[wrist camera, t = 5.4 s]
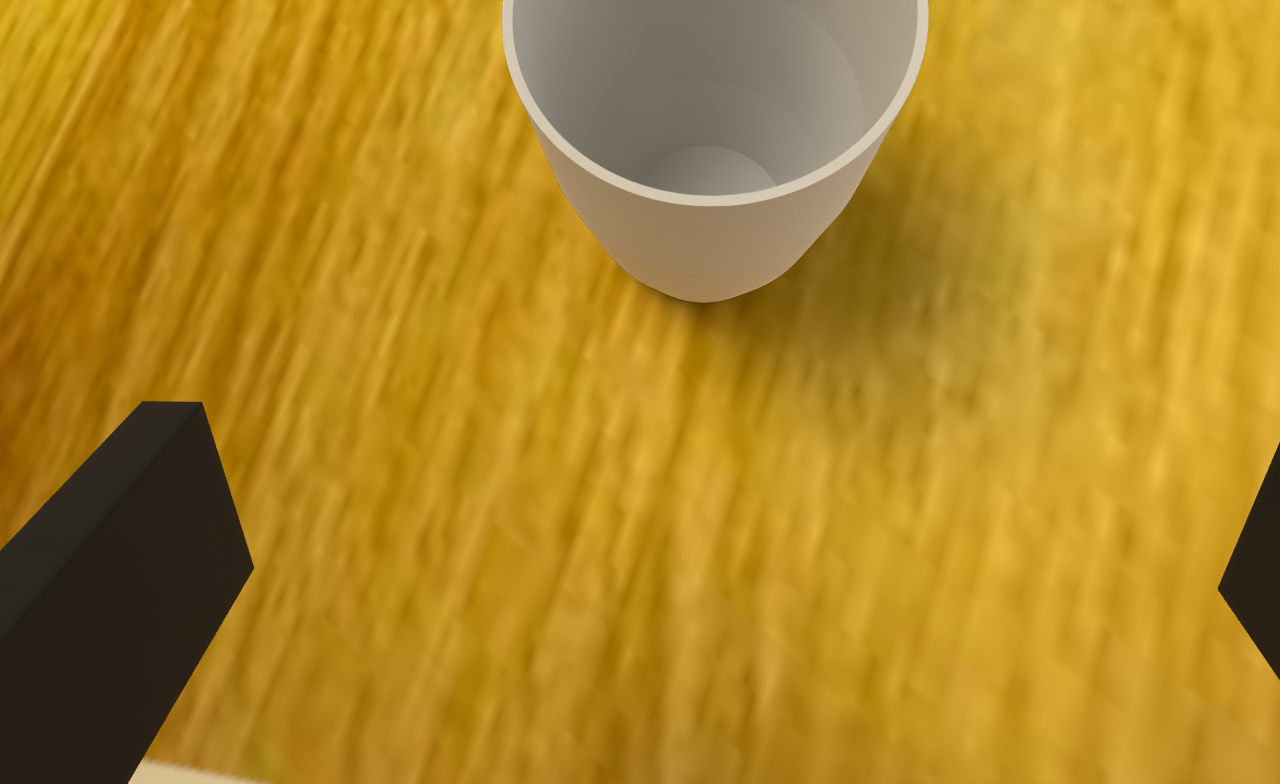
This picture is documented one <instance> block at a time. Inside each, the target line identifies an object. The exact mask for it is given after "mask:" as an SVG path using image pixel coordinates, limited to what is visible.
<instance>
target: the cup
mask: <svg viewBox="0 0 1280 784" xmlns="http://www.w3.org/2000/svg"><path fill="white" fill-rule="evenodd" d="M927 33H928V0H504V1H503V11H502V34H503V44H504V50H505V56H506V60H507V64H508V68H509V71H510V74H511V77H512V80H513V83H514V85H515V88H516V90H517V92H518V94H519V97H520V99H521V101H522V103H523V106H524V108H525V110H526V112H527V114H528V117H529V119H530V121H531V123H532V126H533V128H534V130H535V132H536V135H537V137H538V139H539V141H540V143H541V146H542V148H543V150H544V152H545V155H546V157H547V159H548V161H549V164H550V166H551V168H552V170H553V172H554V175H555V177H556V179H557V181H558V183H559V186H560V188H561V190H562V192H563V193H564V195H565V197H566V199H567V200H568V202H569V203H570V205H571V206H572V208H573V209H574V210H575V212H576V213H577V214H578V215H579V217H580V218H581V219H582V221H583V222H584V223H585V225H586V226H587V227H588V229H589V230H590V231H591V232H592V234H593V235H594V236H595V238H596V239H597V240H598V242H599V243H600V244H601V245H602V247H603V248H604V249H605V251H606V252H607V253H608V255H609V256H610V257H611V258H612V259H613V260H614V261H615V262H616V263H617V264H618V265H619V266H620V267H621V268H622V269H623V270H624V271H625V272H627V273H628V274H629V275H631V276H632V277H633V278H635V279H636V280H638V281H640V282H641V283H643V284H645V285H647V286H649V287H651V288H653V289H655V290H658V291H660V292H662V293H664V294H666V295H669V296H671V297H674V298H677V299H680V300H684V301H690V302H701V303H707V302H718V301H723V300H727V299H731V298H734V297H736V296H739V295H742V294H745V293H747V292H750V291H753V290H755V289H757V288H760V287H762V286H764V285H766V284H768V283H769V282H771V281H773V280H774V279H776V278H778V277H779V276H780V275H782V274H783V273H784V272H786V271H787V270H788V269H789V268H790V267H791V266H793V265H794V264H795V263H796V262H797V261H798V260H799V258H800V257H801V256H802V255H803V254H804V253H805V252H806V251H807V250H808V249H809V247H810V246H811V245H812V244H813V243H814V242H815V241H816V240H817V239H818V237H819V236H820V235H821V234H822V233H823V232H824V231H825V230H826V229H827V228H828V226H829V225H830V224H831V223H832V222H833V221H834V220H835V219H836V218H837V216H838V215H839V214H840V213H841V212H842V210H843V209H844V208H845V206H846V205H847V204H848V202H849V201H850V199H851V197H852V196H853V194H854V193H855V191H856V189H857V187H858V185H859V184H860V182H861V180H862V178H863V176H864V175H865V173H866V171H867V169H868V167H869V165H870V164H871V162H872V160H873V158H874V156H875V155H876V153H877V151H878V149H879V147H880V146H881V144H882V142H883V140H884V138H885V137H886V135H887V133H888V131H889V129H890V128H891V126H892V124H893V122H894V120H895V119H896V117H897V115H898V113H899V111H900V110H901V108H902V106H903V104H904V102H905V101H906V99H907V97H908V95H909V93H910V91H911V89H912V87H913V85H914V82H915V80H916V78H917V75H918V72H919V69H920V67H921V63H922V60H923V56H924V51H925V47H926V41H927Z"/></svg>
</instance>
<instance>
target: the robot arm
mask: <svg viewBox="0 0 1280 784" xmlns="http://www.w3.org/2000/svg"><path fill="white" fill-rule="evenodd" d="M253 569H254V565H253V562H252V559H251V556H250V553H249V550H248V546H247V543H246V540H245V537H244V534H243V531H242V527H241V524H240V521H239V518H238V515H237V511H236V508H235V505H234V502H233V499H232V496H231V492H230V489H229V486H228V483H227V480H226V477H225V473H224V470H223V467H222V464H221V461H220V457H219V454H218V451H217V448H216V445H215V442H214V438H213V435H212V432H211V429H210V426H209V423H208V419H207V416H206V413H205V410H204V407H203V404H202V402H159V401H142V402H141V403H140V404H139V405H138V406H137V407H136V408H135V410H134V411H133V412H132V413H131V414H130V415H129V416H128V417H127V418H126V419H125V420H124V421H123V422H122V423H121V424H120V425H119V426H118V427H117V428H116V430H115V431H114V432H113V433H112V434H111V435H110V436H109V437H108V438H107V439H106V440H105V441H104V442H103V443H102V444H101V445H100V446H99V447H98V449H97V450H96V451H95V452H94V453H93V454H92V455H91V456H90V457H89V458H88V459H87V460H86V461H85V462H84V463H83V464H82V465H81V466H80V467H79V469H78V470H77V471H76V472H75V473H74V474H73V475H72V476H71V477H70V478H69V479H68V480H67V481H66V482H65V483H64V484H63V485H62V486H61V488H60V489H59V490H58V491H57V492H56V493H55V494H54V495H53V496H52V497H51V498H50V499H49V500H48V501H47V502H46V503H45V504H44V505H43V506H42V508H41V509H40V510H39V511H38V512H37V513H36V514H35V515H34V516H33V517H32V518H31V519H30V520H29V521H28V522H27V523H26V524H25V525H24V526H23V528H22V529H21V530H20V531H19V532H18V533H17V534H16V535H15V536H14V537H13V538H12V539H11V540H10V541H9V542H8V543H7V544H6V545H5V547H4V548H3V549H2V550H1V551H0V784H128V782H129V781H130V779H131V777H132V775H133V774H134V772H135V770H136V768H137V766H138V765H139V764H140V762H141V760H142V758H143V757H144V755H145V753H146V752H147V750H148V748H149V746H150V745H151V743H152V741H153V740H154V738H155V736H156V735H157V733H158V731H159V729H160V728H161V726H162V724H163V723H164V721H165V719H166V718H167V716H168V714H169V712H170V711H171V709H172V707H173V706H174V704H175V702H176V700H177V699H178V697H179V695H180V694H181V692H182V690H183V689H184V687H185V685H186V683H187V682H188V680H189V678H190V677H191V675H192V673H193V672H194V670H195V668H196V666H197V665H198V663H199V661H200V660H201V658H202V656H203V655H204V653H205V651H206V649H207V648H208V646H209V644H210V643H211V641H212V639H213V637H214V636H215V634H216V632H217V631H218V629H219V627H220V626H221V624H222V622H223V620H224V619H225V617H226V615H227V614H228V612H229V610H230V609H231V607H232V605H233V603H234V602H235V600H236V598H237V597H238V595H239V593H240V592H241V590H242V588H243V586H244V585H245V583H246V581H247V580H248V578H249V576H250V574H251V573H252V571H253ZM1218 591H1219V592H1220V593H1221V595H1222V596H1223V598H1224V599H1225V601H1226V602H1227V604H1228V605H1229V607H1230V608H1231V610H1232V611H1233V612H1234V614H1235V615H1236V617H1237V618H1238V620H1239V621H1240V623H1241V624H1242V626H1243V627H1244V629H1245V630H1246V631H1247V633H1248V634H1249V636H1250V637H1251V639H1252V640H1253V642H1254V643H1255V645H1256V646H1257V648H1258V649H1259V650H1260V652H1261V653H1262V655H1263V656H1264V658H1265V659H1266V661H1267V662H1268V664H1269V665H1270V667H1271V668H1272V670H1273V671H1274V672H1275V674H1276V675H1277V677H1278V678H1279V680H1280V443H1279V445H1278V448H1277V450H1276V452H1275V455H1274V457H1273V459H1272V462H1271V464H1270V466H1269V469H1268V471H1267V473H1266V476H1265V478H1264V481H1263V483H1262V485H1261V488H1260V490H1259V492H1258V495H1257V497H1256V499H1255V502H1254V504H1253V506H1252V509H1251V511H1250V514H1249V516H1248V518H1247V521H1246V523H1245V525H1244V528H1243V530H1242V532H1241V535H1240V537H1239V539H1238V542H1237V544H1236V546H1235V549H1234V551H1233V554H1232V556H1231V558H1230V561H1229V563H1228V565H1227V568H1226V570H1225V572H1224V575H1223V577H1222V579H1221V582H1220V584H1219V587H1218Z"/></svg>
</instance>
